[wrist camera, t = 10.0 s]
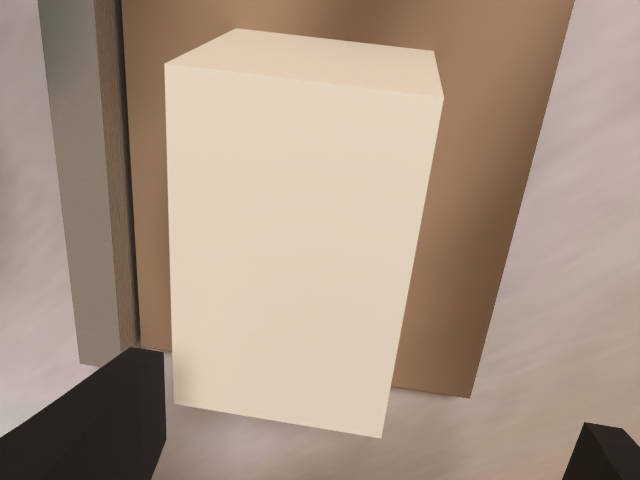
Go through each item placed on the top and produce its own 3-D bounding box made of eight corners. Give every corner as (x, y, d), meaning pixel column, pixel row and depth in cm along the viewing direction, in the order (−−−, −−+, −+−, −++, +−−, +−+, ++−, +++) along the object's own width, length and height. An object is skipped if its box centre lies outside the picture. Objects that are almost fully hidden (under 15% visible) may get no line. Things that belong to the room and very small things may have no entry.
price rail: (132, -91, 15) (86, -97, 13) (152, 325, 21) (122, 370, 19) (73, -97, 16) (17, -103, 13) (108, 319, 21) (74, 362, 19)
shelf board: (573, -47, 15) (586, -46, 13) (466, 374, 20) (469, 398, 19) (136, -91, 15) (116, -93, 14) (154, 326, 21) (141, 346, 20)
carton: (387, 319, 18) (381, 438, 14) (227, 295, 19) (171, 403, 14) (433, 50, 15) (443, 97, 10) (233, 28, 15) (161, 63, 11)
